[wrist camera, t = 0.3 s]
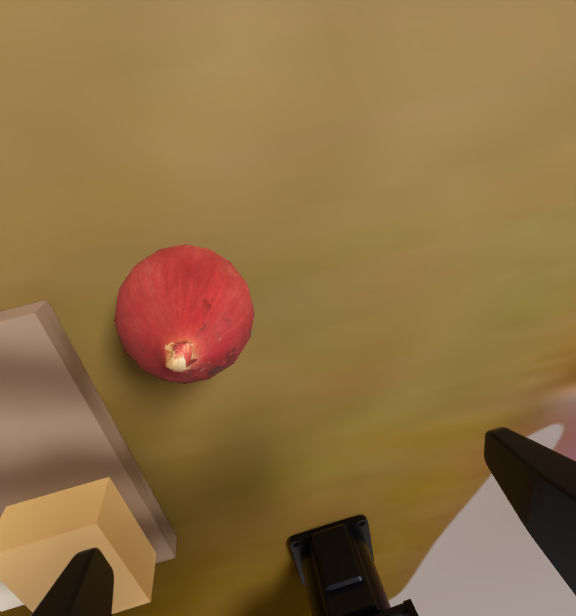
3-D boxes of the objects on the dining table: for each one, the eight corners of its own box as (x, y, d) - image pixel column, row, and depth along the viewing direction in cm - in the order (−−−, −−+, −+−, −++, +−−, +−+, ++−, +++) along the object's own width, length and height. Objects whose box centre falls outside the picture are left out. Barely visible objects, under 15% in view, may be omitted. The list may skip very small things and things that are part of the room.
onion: (266, 295, 21) (295, 381, 14) (180, 348, 22) (166, 458, 15) (204, 205, 19) (201, 255, 11) (107, 268, 19) (47, 353, 12)
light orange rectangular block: (156, 553, 26) (150, 602, 24) (68, 580, 26) (52, 633, 23) (109, 476, 23) (96, 523, 20) (6, 506, 22) (-22, 558, 20)
